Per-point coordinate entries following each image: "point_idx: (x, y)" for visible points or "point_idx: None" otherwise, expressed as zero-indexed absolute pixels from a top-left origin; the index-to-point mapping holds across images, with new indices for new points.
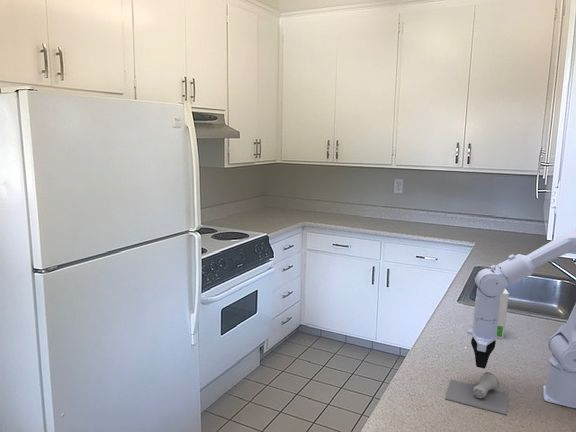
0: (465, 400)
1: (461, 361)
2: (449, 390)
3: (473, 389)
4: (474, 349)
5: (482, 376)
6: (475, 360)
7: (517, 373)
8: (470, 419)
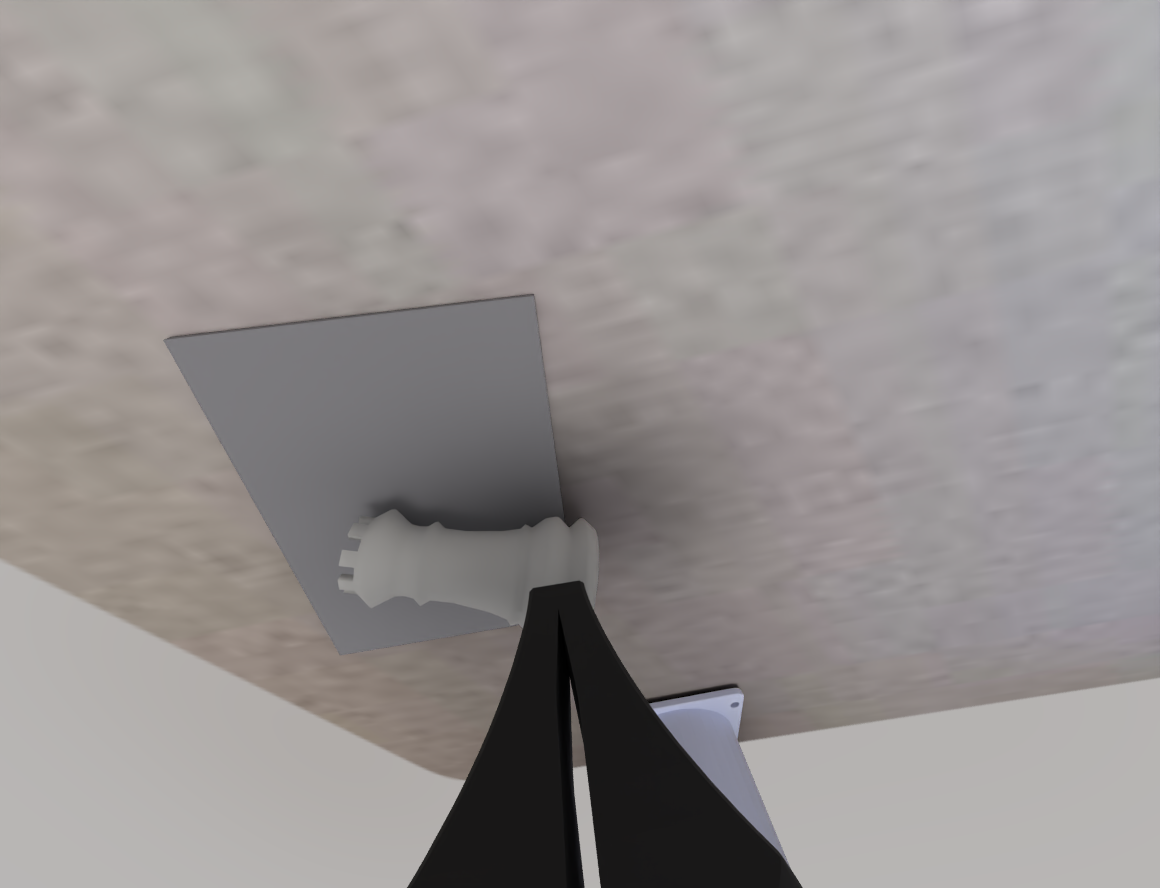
0: (286, 470)
1: (918, 286)
2: (329, 337)
3: (378, 522)
4: (444, 837)
5: (539, 569)
6: (525, 637)
7: (840, 591)
8: (98, 541)
